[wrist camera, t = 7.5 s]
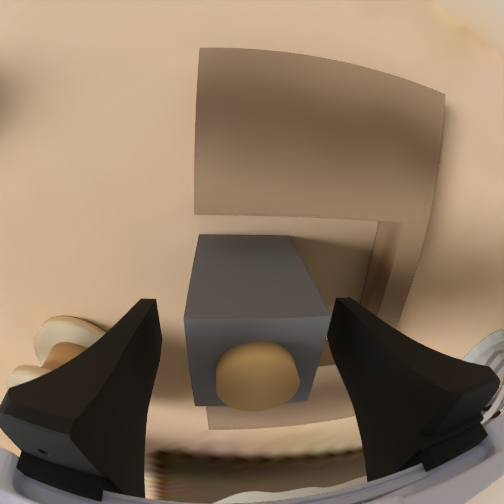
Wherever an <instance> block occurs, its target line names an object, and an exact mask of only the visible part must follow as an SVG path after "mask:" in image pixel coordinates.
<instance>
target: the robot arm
mask: <svg viewBox="0 0 504 504" xmlns="http://www.w3.org/2000/svg"><path fill="white" fill-rule="evenodd" d="M327 339H328V343H329V347H330V350H331V354H332V357H333V359H334V362H335V364H336V366H337V369H338V371H339V373H340V376H341V378H342V380H343V383H344V385H345V387H346V390H347V392H348V394H349V397H350V399H351V402H352V405H353V408H354V412H355V415H356V419H357V423H358V427H359V431H360V436H361V440H362V446H363V451H364V457H365V464H366V472H367V483H363V484H360V485H356V486H353V487H349V488H345V489H341V490H336V491H332V492H327V493H322V494H317V495H312V496H306V497H300V498H294V499H286V500H278V501H268V502H255V503H235V504H464V503H466V502H467V501H469V500H470V499H472V498H473V497H475V496H476V495H477V494H479V493H480V492H482V491H483V490H484V489H486V488H487V487H488V486H490V485H491V484H492V483H494V482H495V481H496V480H498V479H499V478H500V477H501V476H503V475H504V414H501V415H500V416H498V417H497V418H495V419H494V420H492V421H490V422H489V423H488V424H486V425H485V426H484V427H483V426H482V424H481V422H482V421H483V419H484V417H483V415H482V414H481V411H482V410H483V409H484V408H485V406H486V405H487V404H488V403H489V401H490V400H491V399H492V397H493V396H494V395H495V393H496V392H497V390H498V388H499V385H500V379H499V377H498V376H497V375H496V373H495V372H494V371H493V370H492V368H491V367H489V366H485V365H480V364H475V363H470V362H466V361H463V360H460V359H456V358H453V357H450V356H448V355H445V354H442V353H440V352H438V351H435V350H433V349H430V348H428V347H426V346H424V345H422V344H420V343H418V342H416V341H415V340H413V339H411V338H409V337H407V336H406V335H404V334H402V333H401V332H399V331H398V330H396V329H395V328H393V327H392V326H390V325H389V324H387V323H386V322H384V321H383V320H381V319H380V318H378V317H377V316H376V315H374V314H373V313H372V312H370V311H369V310H367V309H366V308H365V307H363V306H362V305H360V304H359V303H357V302H356V301H354V300H353V299H351V298H349V297H348V298H336V301H335V305H334V309H333V313H332V317H331V321H330V325H329V329H328V333H327ZM161 345H162V334H161V328H160V322H159V316H158V309H157V302H156V299H140V300H139V301H138V302H137V303H136V304H135V305H134V306H133V307H132V308H131V309H130V310H129V311H128V312H127V313H126V314H125V315H124V316H123V317H122V318H121V319H120V320H119V321H118V322H117V323H116V324H115V325H114V326H113V327H112V328H111V329H110V330H109V331H108V332H107V333H105V334H104V335H103V336H102V337H101V338H100V339H99V340H98V341H96V342H95V343H94V344H93V345H91V346H90V347H89V348H87V349H86V350H85V351H83V352H82V353H80V354H79V355H78V356H76V357H75V358H73V359H71V360H70V361H68V362H66V363H65V364H63V365H61V366H60V367H58V368H56V369H54V370H52V371H50V372H48V373H46V374H44V375H42V376H40V377H38V378H35V379H33V380H30V381H28V382H25V383H22V384H19V385H16V386H13V387H10V388H9V389H8V391H7V393H6V395H5V397H4V399H3V401H2V403H1V405H0V428H1V429H2V430H3V432H4V433H5V434H6V435H7V436H8V437H9V438H10V439H11V440H12V441H13V442H14V444H15V445H16V446H17V447H18V448H19V449H20V450H21V451H22V452H21V455H20V457H18V456H17V455H15V454H14V453H12V452H10V451H8V450H6V449H4V448H2V447H0V504H205V503H184V502H172V501H162V500H154V499H146V498H145V485H144V452H145V434H146V423H147V413H148V407H149V402H150V398H151V394H152V389H153V385H154V381H155V377H156V373H157V369H158V365H159V361H160V354H161Z"/></svg>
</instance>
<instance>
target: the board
mask: <svg viewBox="0 0 504 504" xmlns="http://www.w3.org/2000/svg"><path fill="white" fill-rule="evenodd" d="M444 111H445V94H443V93H441V92H438V91H436V90H433V89H431V88H428V87H426V86H423V85H420V84H417V83H415V82H412V81H409V80H406V79H403V78H400V77H397V76H394V75H390V74H387V73H384V72H380V71H377V70H373V69H369V68H366V67H362V66H358V65H354V64H349V63H345V62H340V61H336V60H331V59H325V58H320V57H314V56H308V55H302V54H295V53H287V52H278V51H268V50H256V49H240V48H200V51H199V65H198V80H197V99H196V123H195V166H194V213H195V215H251V216H288V217H315V218H337V219H356V220H373V221H379V224H378V229H377V234H376V239H375V244H374V248H373V253H372V257H371V261H370V266H369V270H368V274H367V278H366V282H365V286H364V289H363V293H362V297H361V300H360V305H362V306H363V307H365V308H366V309H367V310H369V311H370V312H372V313H373V314H374V315H376V316H377V317H378V318H380V319H381V320H383V321H384V322H386V323H387V324H389V325H390V326H392V327H393V328H395V329H396V326H397V323H398V321H399V318H400V315H401V313H402V310H403V307H404V304H405V302H406V299H407V296H408V293H409V290H410V287H411V284H412V281H413V277H414V274H415V271H416V267H417V264H418V261H419V257H420V253H421V250H422V246H423V242H424V238H425V234H426V230H427V226H428V222H429V217H430V213H431V208H432V203H433V198H434V193H435V187H436V181H437V175H438V169H439V162H440V154H441V146H442V136H443V125H444ZM206 410H207V419H208V427H209V430H229V429H257V428H272V427H283V426H293V425H302V424H310V423H317V422H324V421H330V420H336V419H342V418H347V417H352V416H355V412H354V408H353V405H352V402H351V399H350V397H349V394H348V392H347V390H346V387H345V385H344V383H343V380H342V378H341V376H340V373H339V371H338V369H337V366H336V364H335V362H334V359H333V357H332V354H331V350H330V347H329V343H328V341H325V343H324V347H323V350H322V354H321V358H320V361H319V365H318V368H317V371H316V375H315V378H314V381H313V385H312V388H311V391H310V394H309V397H308V400H307V401H306V402H297V403H286V404H282V405H280V406H278V407H275V408H272V409H268V410H264V411H242V410H237V409H234V408H232V407H229V406H206Z"/></svg>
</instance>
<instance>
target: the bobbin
mask: <svg viewBox="0 0 504 504" xmlns="http://www.w3.org/2000/svg"><path fill="white" fill-rule="evenodd" d="M105 333H106V332H105V331H103V330H102V329H100V328H99V327H97V326H95V325H93V324H91V323H89V322H87V321H84V320H81V319H78V318H74V317H69V316H58V317H53V318H51V319H49V320H47V321H46V322H45V323H44V324H43V325H42V326H41V328H40V329H39V331H38V332H37V334H36V336H35V340H34V348H35V352H36V355H37V358H38V360H39V362H40V364H41V365H42V367H38V366H33V365H23V366H19V367H17V368H16V369H15V370H14V371H13V373H12V374H11V376H10V378H9V380H8V382H7V391H8V389H9V388H10V387H13V386H16V385H19V384H22V383H25V382H28V381H30V380H33V379H35V378H38V377H40V376H42V375H44V374H46V373H48V372H50V371H52V370H54V369H56V368H58V367H60V366H61V365H63V364H65V363H66V362H68V361H70V360H71V359H73V358H75V357H76V356H78V355H79V354H80V353H82V352H83V351H85V350H86V349H87V348H89V347H90V346H91V345H93V344H94V343H95V342H96V341H98V340H99V339H100V338H101V337H102V336H103V335H104V334H105Z"/></svg>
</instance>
